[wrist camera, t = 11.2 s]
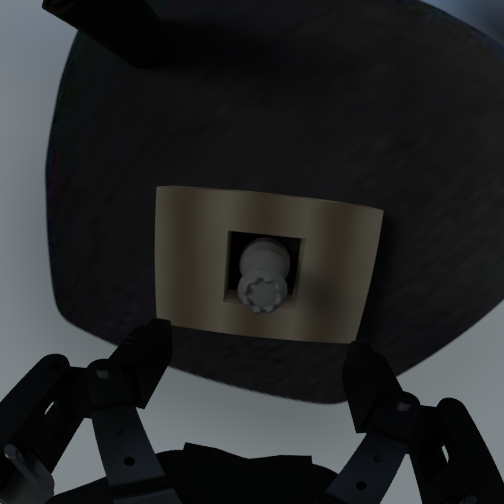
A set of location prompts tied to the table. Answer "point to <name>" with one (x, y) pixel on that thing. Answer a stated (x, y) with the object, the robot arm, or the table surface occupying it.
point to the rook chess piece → (263, 275)
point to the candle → (116, 26)
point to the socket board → (271, 223)
